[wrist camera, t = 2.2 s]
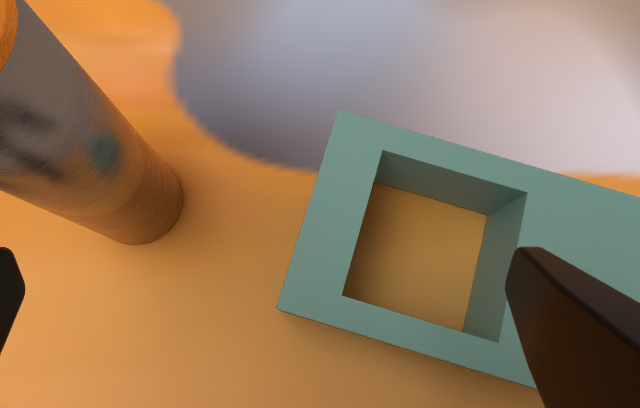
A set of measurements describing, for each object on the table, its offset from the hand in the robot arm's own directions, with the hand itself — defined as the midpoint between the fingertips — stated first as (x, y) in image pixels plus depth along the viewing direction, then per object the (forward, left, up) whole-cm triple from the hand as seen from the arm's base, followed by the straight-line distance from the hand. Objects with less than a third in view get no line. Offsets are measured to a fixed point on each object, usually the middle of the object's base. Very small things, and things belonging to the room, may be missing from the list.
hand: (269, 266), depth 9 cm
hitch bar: (+10, -2, -12) cm, 16 cm away
